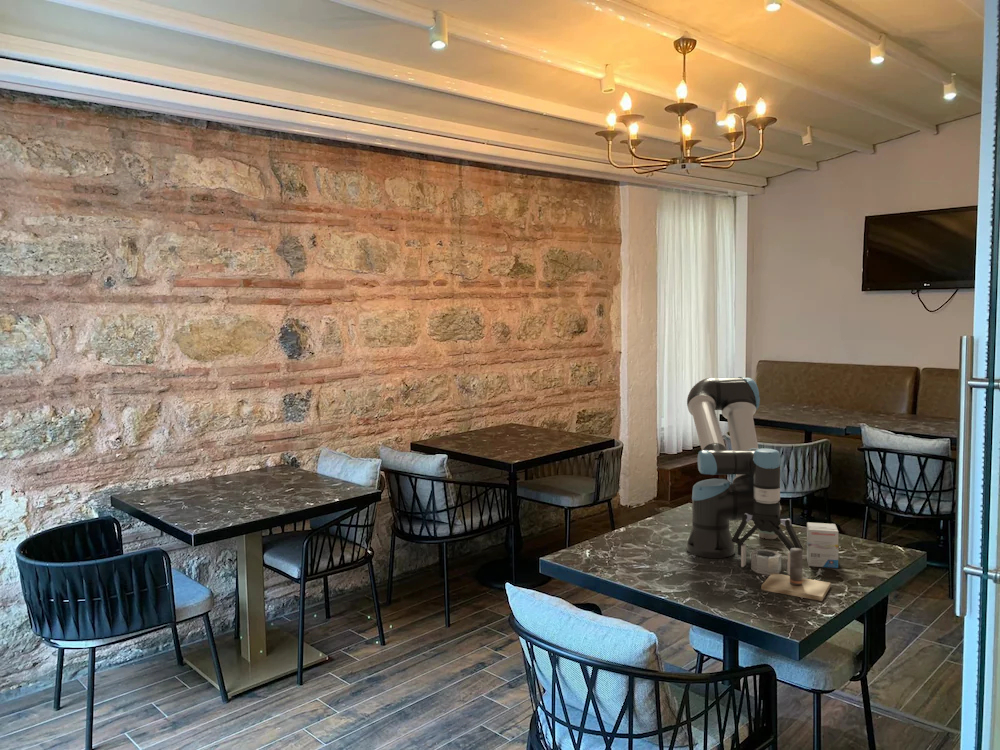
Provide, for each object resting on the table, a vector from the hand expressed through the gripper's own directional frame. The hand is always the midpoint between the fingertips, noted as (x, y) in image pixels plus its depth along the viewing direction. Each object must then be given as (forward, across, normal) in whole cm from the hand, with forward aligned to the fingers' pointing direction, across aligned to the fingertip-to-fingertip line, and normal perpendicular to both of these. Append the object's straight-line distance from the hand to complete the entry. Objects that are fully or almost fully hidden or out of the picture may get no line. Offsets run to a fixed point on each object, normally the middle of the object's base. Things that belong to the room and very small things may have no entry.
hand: (766, 569), depth 223 cm
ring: (0, 0, 0) cm, 0 cm away
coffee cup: (0, -8, +34) cm, 35 cm away
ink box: (0, +13, +15) cm, 20 cm away
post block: (0, +11, -11) cm, 15 cm away
